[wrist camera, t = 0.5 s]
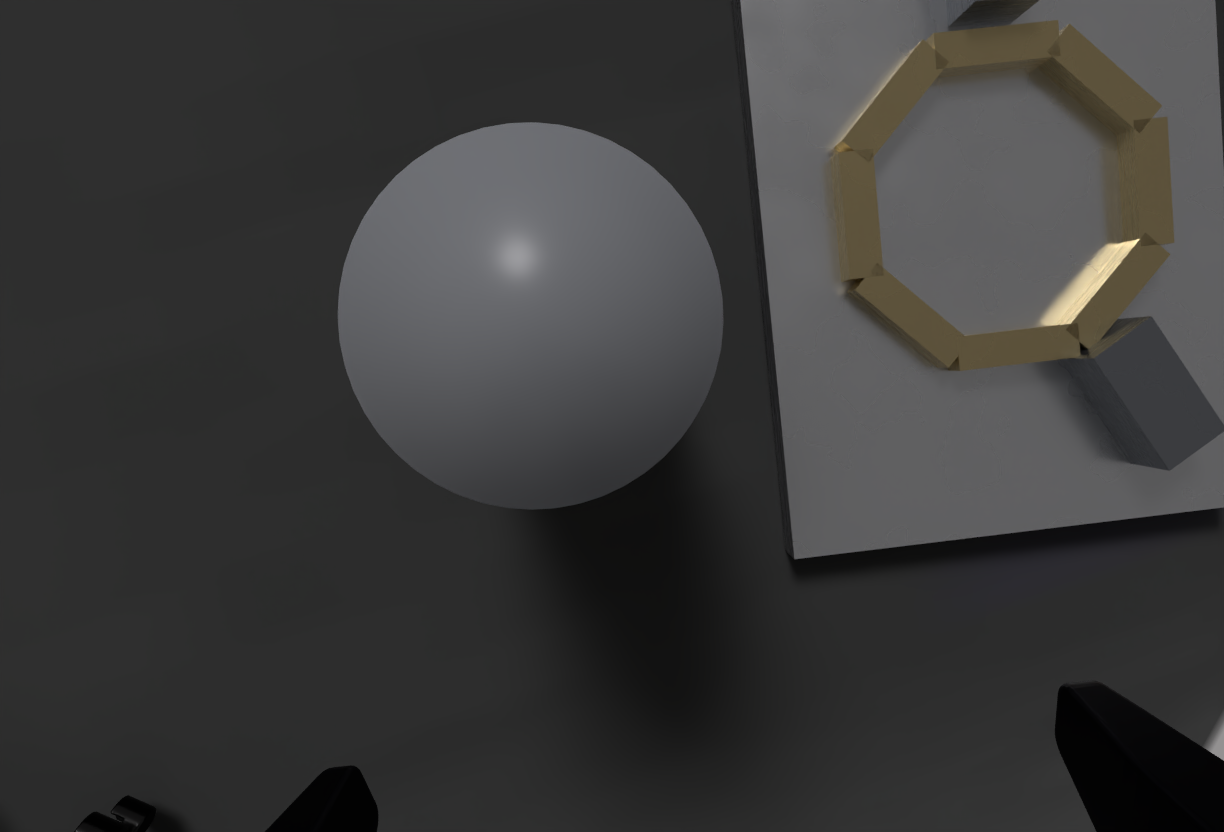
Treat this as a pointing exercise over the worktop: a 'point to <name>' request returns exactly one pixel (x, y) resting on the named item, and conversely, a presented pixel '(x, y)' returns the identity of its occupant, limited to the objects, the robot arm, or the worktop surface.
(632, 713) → the worktop surface
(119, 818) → the valve
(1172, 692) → the worktop surface
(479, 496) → the domed cap cylinder
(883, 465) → the shaft mount
